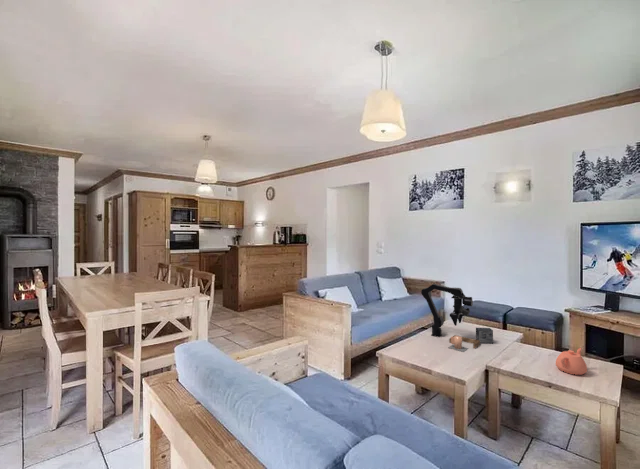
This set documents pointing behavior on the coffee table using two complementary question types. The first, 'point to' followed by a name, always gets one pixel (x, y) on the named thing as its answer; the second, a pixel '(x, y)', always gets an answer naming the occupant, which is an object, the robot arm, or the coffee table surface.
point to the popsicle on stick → (457, 342)
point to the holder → (469, 341)
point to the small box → (484, 335)
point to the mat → (458, 349)
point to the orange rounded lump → (571, 362)
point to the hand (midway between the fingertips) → (457, 324)
